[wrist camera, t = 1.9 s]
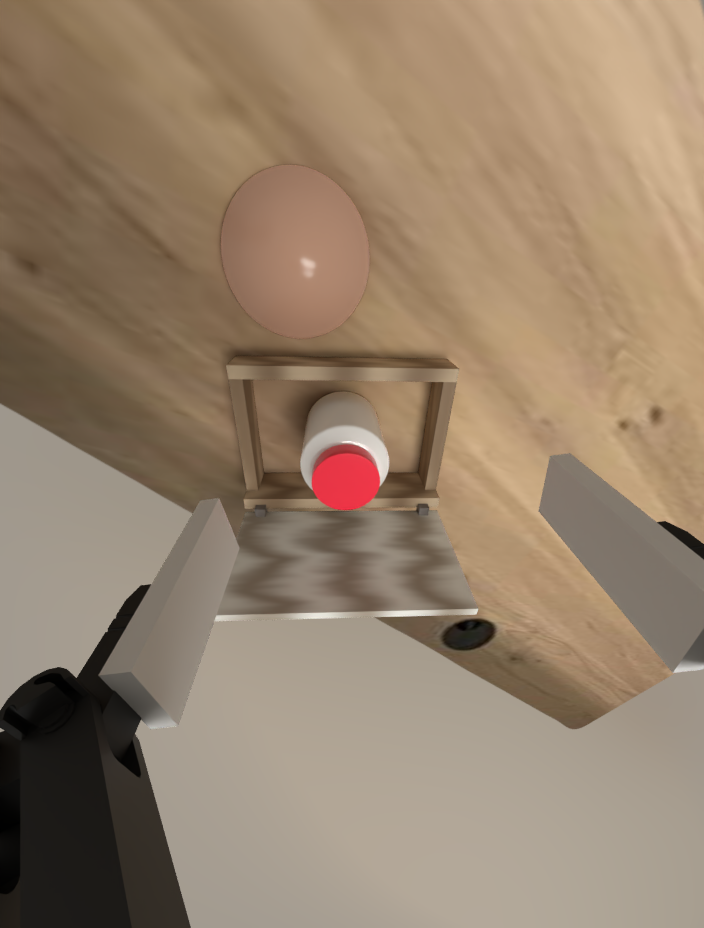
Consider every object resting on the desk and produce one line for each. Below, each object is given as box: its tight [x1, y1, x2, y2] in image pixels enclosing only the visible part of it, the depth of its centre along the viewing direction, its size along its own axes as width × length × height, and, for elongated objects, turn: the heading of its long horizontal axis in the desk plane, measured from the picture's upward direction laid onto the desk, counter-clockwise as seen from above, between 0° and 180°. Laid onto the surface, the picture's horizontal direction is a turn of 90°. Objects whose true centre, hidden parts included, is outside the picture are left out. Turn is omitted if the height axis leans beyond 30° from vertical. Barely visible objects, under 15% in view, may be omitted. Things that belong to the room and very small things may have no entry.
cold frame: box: [215, 356, 478, 621], centre depth 29 cm, size 20×16×17 cm
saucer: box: [221, 165, 370, 339], centre depth 28 cm, size 12×12×1 cm
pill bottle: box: [300, 391, 389, 510], centre depth 31 cm, size 8×8×11 cm
